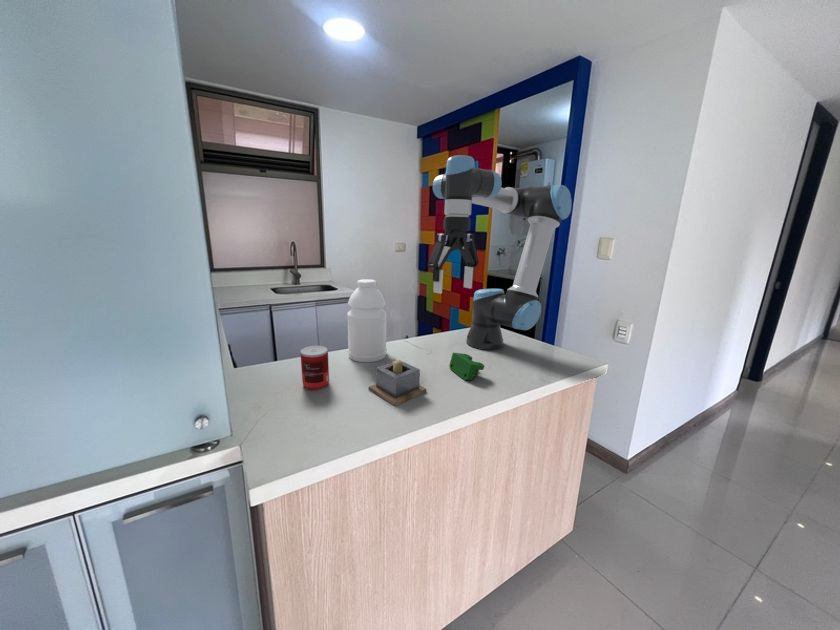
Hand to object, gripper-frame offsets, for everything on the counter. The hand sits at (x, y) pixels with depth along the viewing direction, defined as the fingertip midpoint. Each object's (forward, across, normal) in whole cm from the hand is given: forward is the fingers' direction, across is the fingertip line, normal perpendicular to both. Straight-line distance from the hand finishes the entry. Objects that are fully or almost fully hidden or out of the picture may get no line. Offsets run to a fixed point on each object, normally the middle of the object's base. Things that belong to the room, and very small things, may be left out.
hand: (453, 290), depth 100 cm
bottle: (+29, +9, -32) cm, 44 cm away
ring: (+28, +18, -4) cm, 33 cm away
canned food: (+29, +34, -23) cm, 50 cm away
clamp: (+29, -7, +2) cm, 30 cm away
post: (+29, +18, -4) cm, 34 cm away
